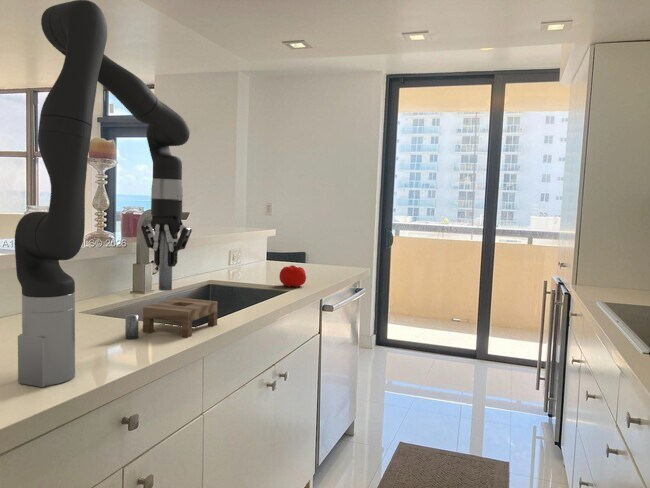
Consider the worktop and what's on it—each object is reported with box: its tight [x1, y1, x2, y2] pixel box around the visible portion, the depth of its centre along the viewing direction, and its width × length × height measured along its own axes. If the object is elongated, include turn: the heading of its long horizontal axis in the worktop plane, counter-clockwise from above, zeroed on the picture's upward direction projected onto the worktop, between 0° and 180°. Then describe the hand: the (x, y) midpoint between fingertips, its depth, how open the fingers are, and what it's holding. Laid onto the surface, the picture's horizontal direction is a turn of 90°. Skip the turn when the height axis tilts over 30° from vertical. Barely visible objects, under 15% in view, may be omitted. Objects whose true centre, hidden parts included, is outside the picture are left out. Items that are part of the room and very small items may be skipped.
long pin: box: [158, 231, 173, 292], centre depth 130 cm, size 3×3×15 cm
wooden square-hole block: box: [142, 297, 219, 338], centre depth 146 cm, size 16×14×7 cm
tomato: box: [278, 264, 307, 288], centre depth 227 cm, size 11×12×9 cm
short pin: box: [124, 313, 139, 340], centre depth 134 cm, size 3×3×6 cm
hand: (165, 265), depth 130 cm, fingers closed on long pin, 3 cm apart
